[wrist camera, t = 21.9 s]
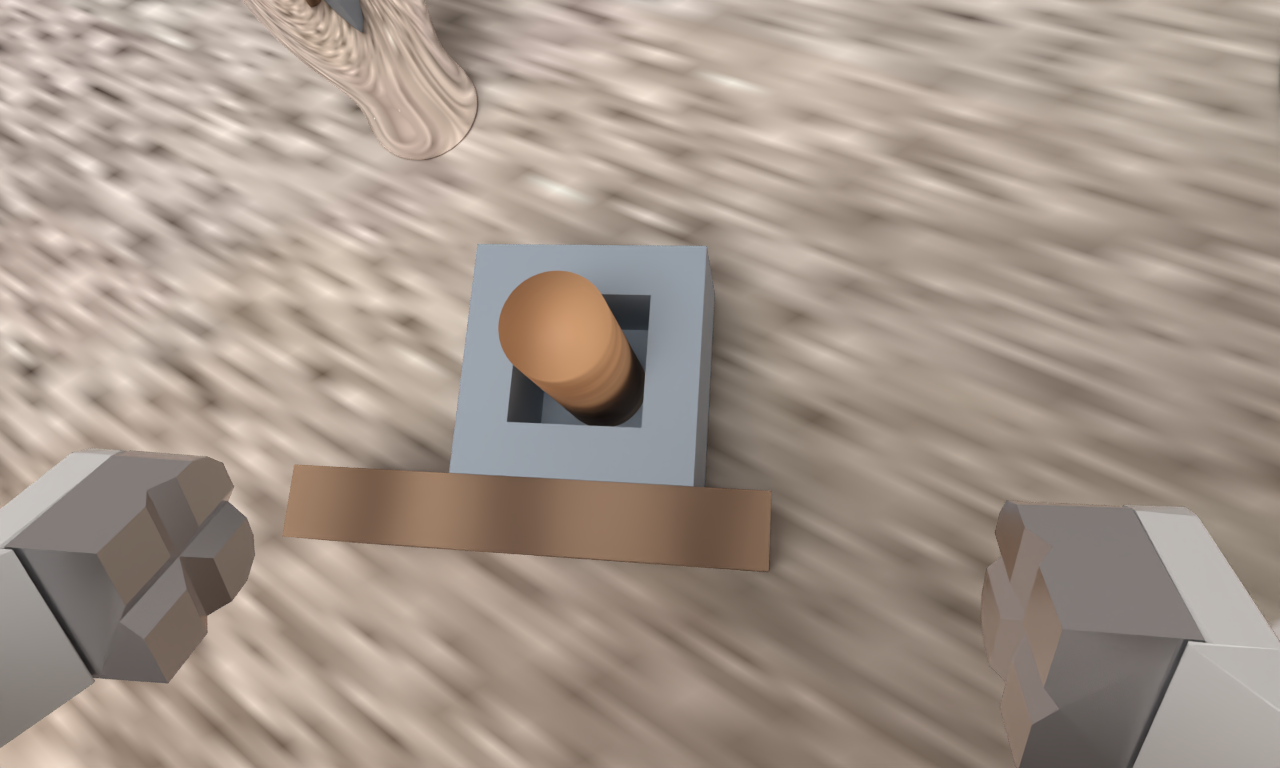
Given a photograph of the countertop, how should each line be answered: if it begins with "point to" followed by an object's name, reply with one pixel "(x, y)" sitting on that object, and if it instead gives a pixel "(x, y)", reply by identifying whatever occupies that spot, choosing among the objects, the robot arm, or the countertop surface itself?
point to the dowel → (572, 347)
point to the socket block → (658, 334)
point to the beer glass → (381, 67)
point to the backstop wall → (533, 516)
